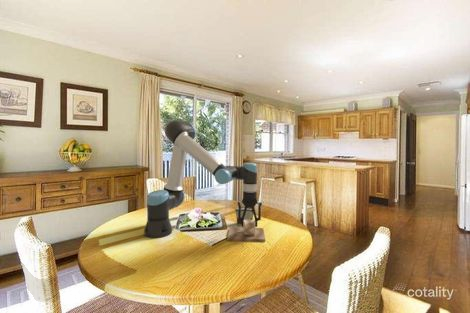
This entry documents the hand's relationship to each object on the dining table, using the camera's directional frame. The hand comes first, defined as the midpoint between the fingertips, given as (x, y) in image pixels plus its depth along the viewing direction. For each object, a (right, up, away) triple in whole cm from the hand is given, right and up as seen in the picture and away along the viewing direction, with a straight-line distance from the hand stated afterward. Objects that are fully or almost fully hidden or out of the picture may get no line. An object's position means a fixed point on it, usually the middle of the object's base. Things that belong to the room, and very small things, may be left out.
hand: (249, 232), depth 133 cm
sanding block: (0, 0, 0) cm, 0 cm away
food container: (-2, -1, +20) cm, 20 cm away
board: (-2, -2, 0) cm, 2 cm away
